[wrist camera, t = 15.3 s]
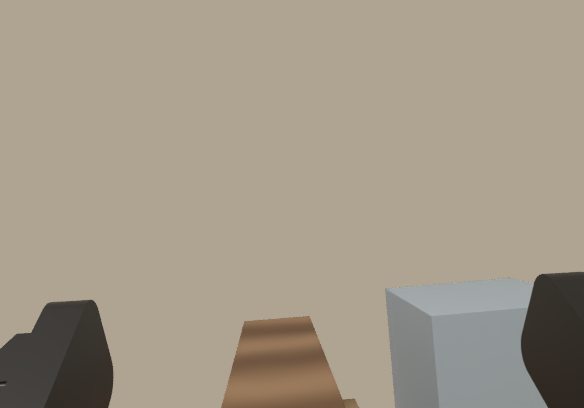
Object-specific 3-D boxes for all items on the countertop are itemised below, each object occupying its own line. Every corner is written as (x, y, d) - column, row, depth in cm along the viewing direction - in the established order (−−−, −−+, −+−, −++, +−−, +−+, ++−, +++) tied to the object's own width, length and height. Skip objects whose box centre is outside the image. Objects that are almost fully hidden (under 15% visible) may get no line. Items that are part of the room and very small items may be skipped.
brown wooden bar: (376, 614, 14) (363, 454, 14) (216, 631, 14) (205, 468, 14) (314, 381, 34) (309, 316, 34) (248, 387, 34) (244, 321, 34)
